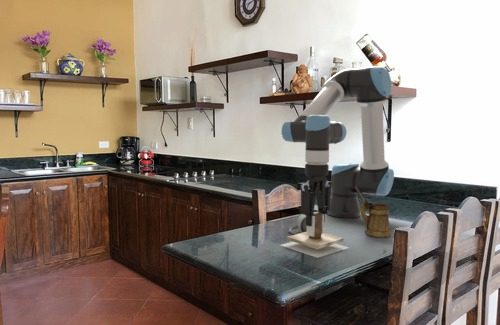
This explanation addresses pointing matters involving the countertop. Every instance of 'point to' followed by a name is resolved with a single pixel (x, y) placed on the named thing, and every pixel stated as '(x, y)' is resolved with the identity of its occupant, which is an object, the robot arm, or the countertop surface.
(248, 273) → the countertop surface
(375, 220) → the wooden mug
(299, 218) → the ceramic mug
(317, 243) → the lid
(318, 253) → the mat
